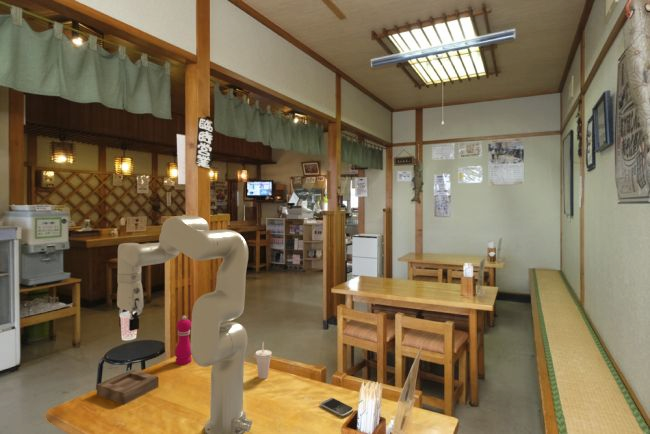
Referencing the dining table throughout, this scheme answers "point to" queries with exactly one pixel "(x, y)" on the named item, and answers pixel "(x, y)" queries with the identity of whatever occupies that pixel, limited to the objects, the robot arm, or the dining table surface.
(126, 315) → the beverage cup
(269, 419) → the dining table surface
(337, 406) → the cell phone
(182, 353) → the pepper mill
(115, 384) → the walnut tray
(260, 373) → the smoothie
